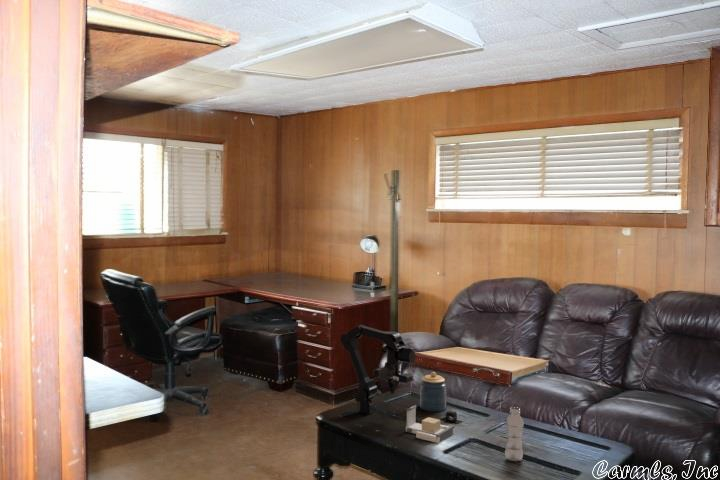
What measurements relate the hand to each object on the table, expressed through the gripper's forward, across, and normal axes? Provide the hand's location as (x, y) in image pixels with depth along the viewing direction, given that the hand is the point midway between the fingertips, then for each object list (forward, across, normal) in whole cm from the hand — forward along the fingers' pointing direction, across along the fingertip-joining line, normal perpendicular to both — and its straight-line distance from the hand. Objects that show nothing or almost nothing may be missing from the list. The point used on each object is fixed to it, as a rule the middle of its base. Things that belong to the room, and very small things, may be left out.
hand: (392, 393), depth 275 cm
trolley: (+12, +22, -5) cm, 25 cm away
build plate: (+12, +22, +16) cm, 30 cm away
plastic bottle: (+12, +63, -8) cm, 65 cm away
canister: (+12, +5, +27) cm, 30 cm away
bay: (+12, +26, -5) cm, 29 cm away
